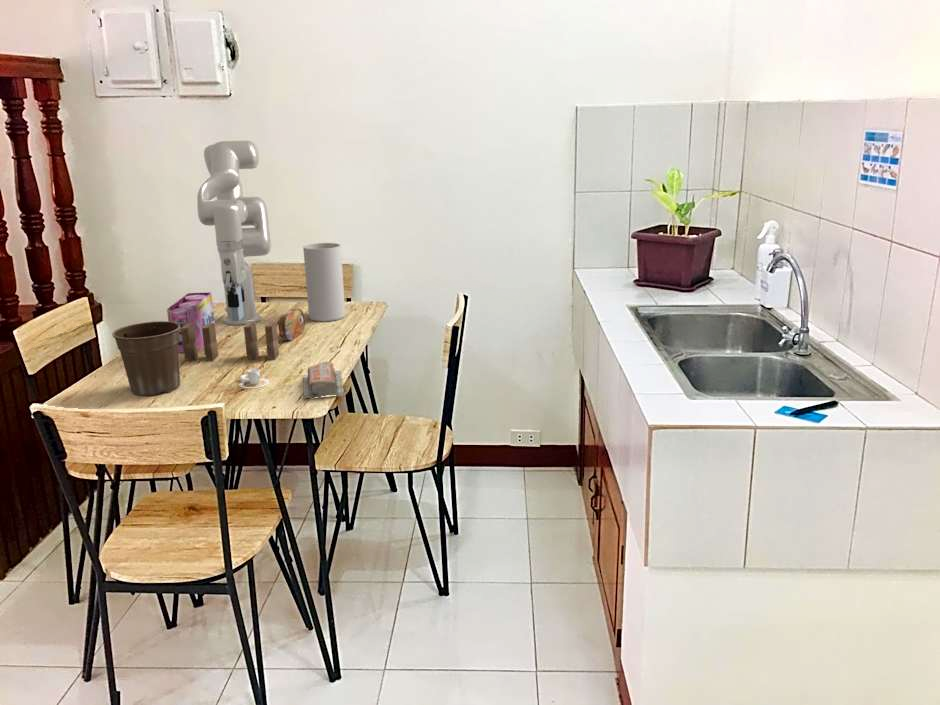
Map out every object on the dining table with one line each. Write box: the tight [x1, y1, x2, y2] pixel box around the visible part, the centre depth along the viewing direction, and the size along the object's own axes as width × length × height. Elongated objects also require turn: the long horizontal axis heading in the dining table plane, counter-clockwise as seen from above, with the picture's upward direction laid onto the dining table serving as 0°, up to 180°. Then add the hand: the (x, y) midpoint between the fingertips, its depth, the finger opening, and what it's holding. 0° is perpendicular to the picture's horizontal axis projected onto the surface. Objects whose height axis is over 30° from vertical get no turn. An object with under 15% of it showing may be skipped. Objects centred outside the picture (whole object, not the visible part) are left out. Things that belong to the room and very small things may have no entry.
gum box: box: [166, 292, 217, 354], centre depth 246 cm, size 24×8×14 cm, turn 3°
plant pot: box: [111, 320, 181, 397], centre depth 205 cm, size 16×16×16 cm
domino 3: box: [231, 284, 244, 321], centre depth 241 cm, size 2×6×10 cm, turn 0°
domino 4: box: [243, 322, 260, 361], centre depth 230 cm, size 2×6×10 cm, turn 0°
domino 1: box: [181, 323, 199, 363], centre depth 230 cm, size 2×6×10 cm, turn 0°
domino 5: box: [264, 321, 280, 361], centre depth 230 cm, size 2×6×10 cm, turn 0°
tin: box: [277, 308, 306, 341], centre depth 251 cm, size 15×3×8 cm, turn 168°
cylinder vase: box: [302, 242, 346, 322], centre depth 272 cm, size 12×12×25 cm
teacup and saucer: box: [238, 368, 271, 389], centre depth 209 cm, size 9×8×4 cm
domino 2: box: [202, 322, 219, 362], centre depth 230 cm, size 2×6×10 cm, turn 0°
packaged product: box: [303, 361, 345, 400], centre depth 206 cm, size 18×5×10 cm
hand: (236, 303), depth 241 cm, fingers closed on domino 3, 5 cm apart
